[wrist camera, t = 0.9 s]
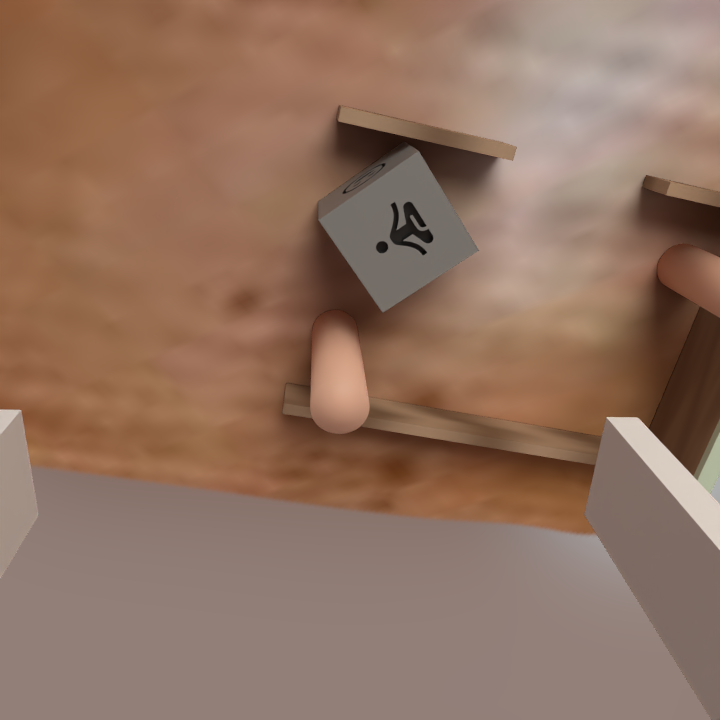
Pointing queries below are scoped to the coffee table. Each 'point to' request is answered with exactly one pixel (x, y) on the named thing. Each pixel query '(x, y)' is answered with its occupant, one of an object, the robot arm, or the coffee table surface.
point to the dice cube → (395, 226)
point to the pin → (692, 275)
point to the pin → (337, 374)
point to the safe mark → (710, 462)
